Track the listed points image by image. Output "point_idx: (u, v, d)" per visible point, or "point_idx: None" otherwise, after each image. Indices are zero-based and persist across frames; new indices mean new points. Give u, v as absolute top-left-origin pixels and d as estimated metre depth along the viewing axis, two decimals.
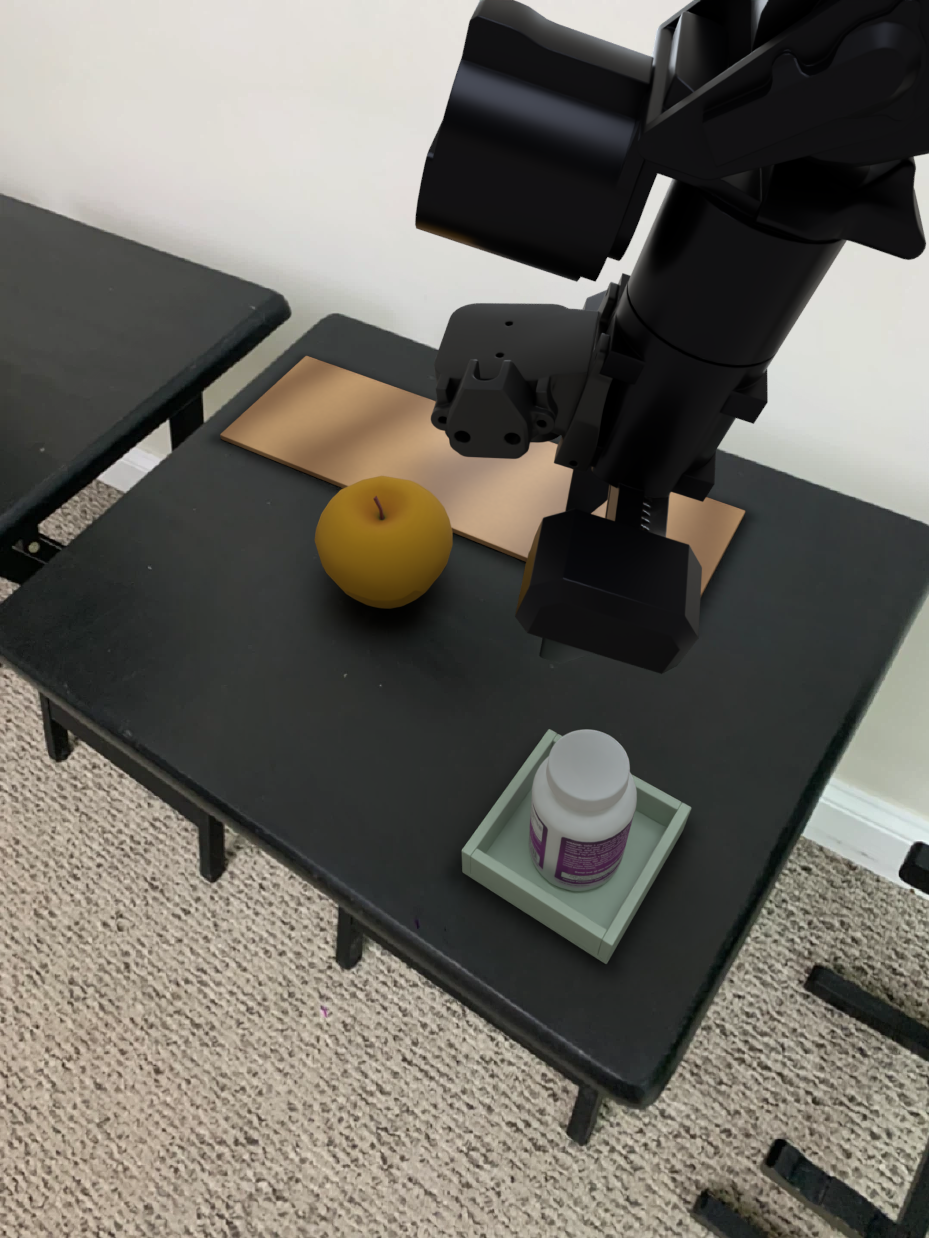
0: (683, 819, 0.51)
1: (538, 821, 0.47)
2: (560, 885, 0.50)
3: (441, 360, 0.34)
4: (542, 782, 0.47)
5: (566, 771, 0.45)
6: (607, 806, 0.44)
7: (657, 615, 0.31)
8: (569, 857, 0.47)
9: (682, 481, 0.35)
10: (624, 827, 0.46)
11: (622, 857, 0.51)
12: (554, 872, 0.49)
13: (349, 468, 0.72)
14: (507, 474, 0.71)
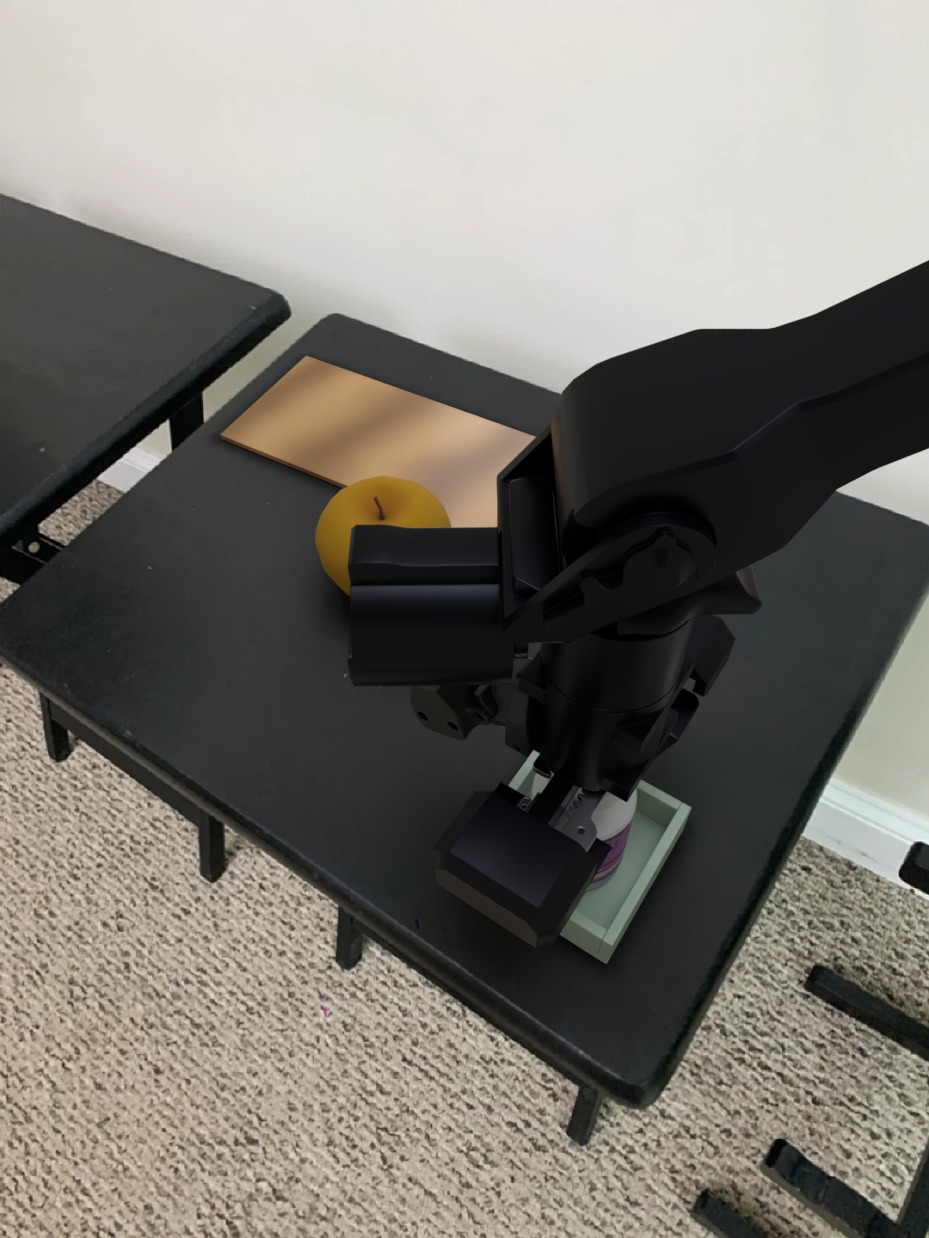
0: (683, 819, 0.51)
1: None
2: None
3: None
4: (542, 783, 0.46)
5: None
6: (607, 806, 0.44)
7: (516, 901, 0.37)
8: None
9: (605, 782, 0.40)
10: (624, 827, 0.46)
11: (622, 857, 0.51)
12: None
13: (349, 468, 0.72)
14: None
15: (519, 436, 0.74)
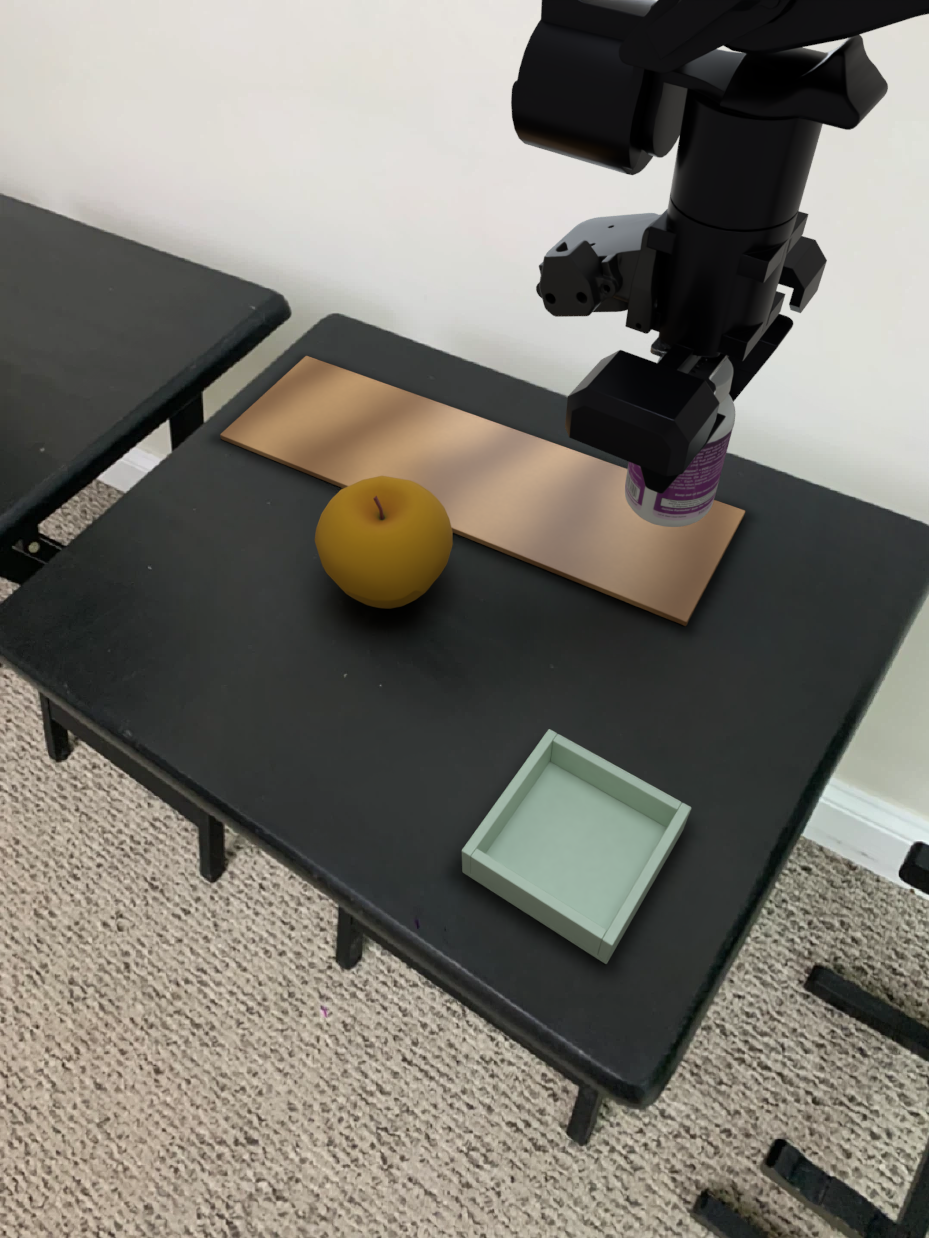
0: (683, 819, 0.51)
1: None
2: (658, 520, 0.54)
3: None
4: None
5: None
6: None
7: (653, 419, 0.41)
8: None
9: (723, 341, 0.44)
10: (725, 434, 0.50)
11: (714, 496, 0.54)
12: (654, 503, 0.53)
13: (349, 468, 0.72)
14: (507, 474, 0.71)
15: (519, 436, 0.74)
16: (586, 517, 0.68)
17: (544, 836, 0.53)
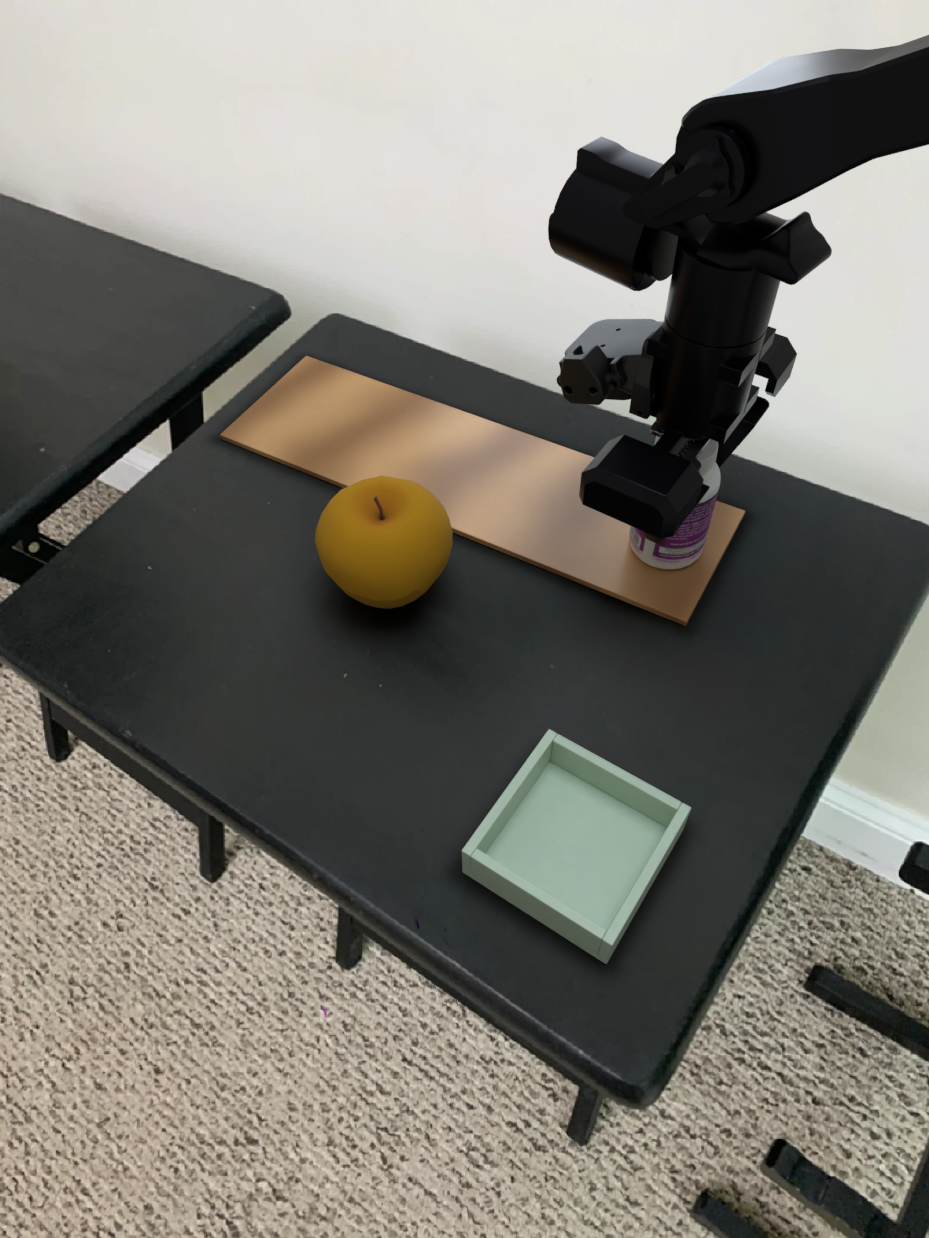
0: (683, 819, 0.51)
1: None
2: (656, 564, 0.64)
3: (570, 348, 0.58)
4: None
5: None
6: (701, 471, 0.59)
7: (649, 494, 0.51)
8: None
9: (707, 428, 0.54)
10: (712, 496, 0.60)
11: None
12: (653, 549, 0.64)
13: (349, 468, 0.72)
14: (507, 474, 0.71)
15: (519, 436, 0.74)
16: (586, 517, 0.68)
17: (544, 836, 0.53)
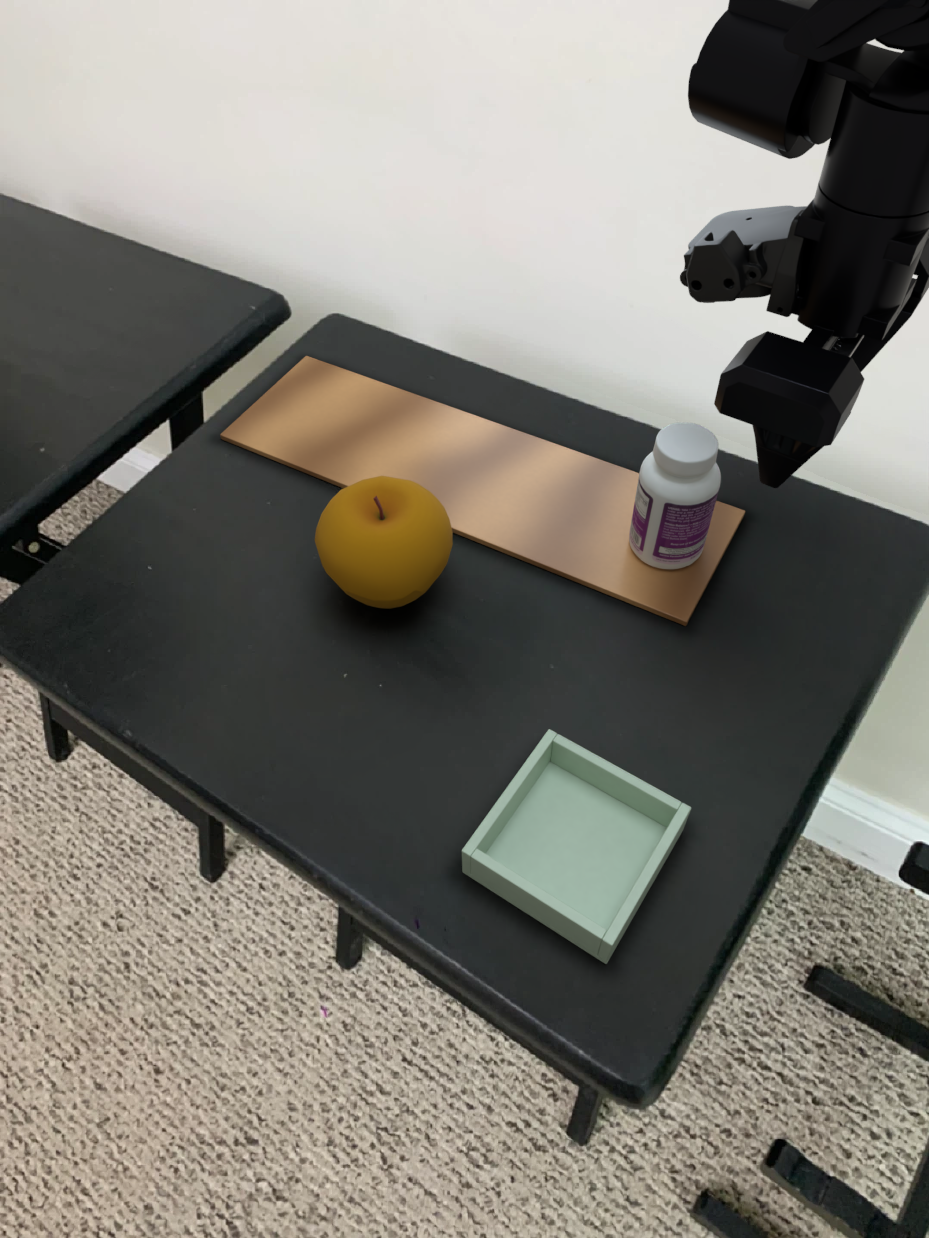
0: (683, 819, 0.51)
1: (645, 497, 0.61)
2: (656, 564, 0.64)
3: (694, 241, 0.50)
4: (649, 465, 0.61)
5: (671, 446, 0.59)
6: (702, 471, 0.59)
7: (807, 392, 0.44)
8: (668, 526, 0.61)
9: (863, 322, 0.47)
10: (712, 496, 0.60)
11: None
12: (653, 549, 0.64)
13: (349, 468, 0.72)
14: (507, 474, 0.71)
15: (519, 436, 0.74)
16: (586, 517, 0.68)
17: (544, 836, 0.53)
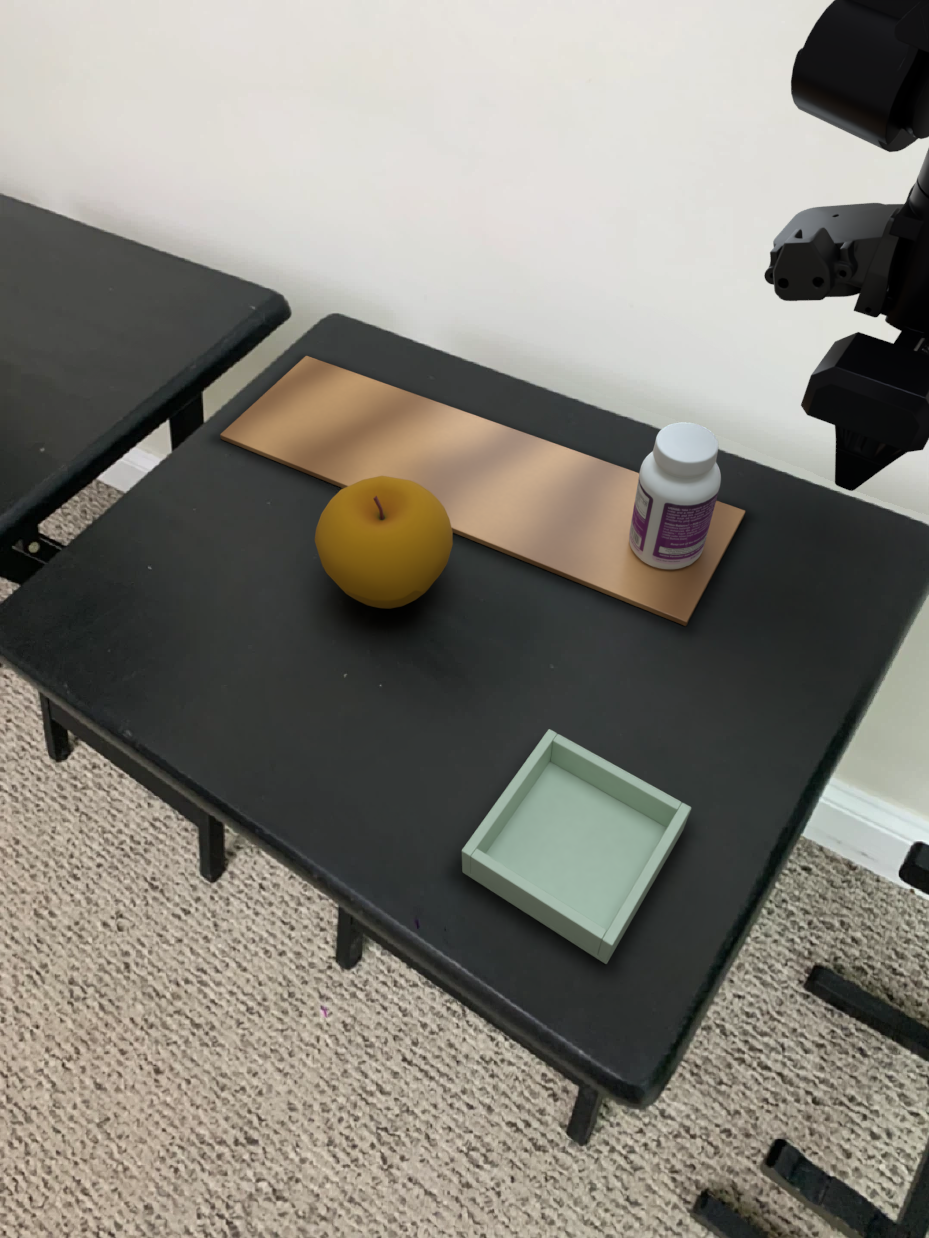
0: (683, 819, 0.51)
1: (645, 497, 0.61)
2: (656, 564, 0.64)
3: (779, 238, 0.49)
4: (649, 465, 0.61)
5: (671, 446, 0.59)
6: (702, 471, 0.59)
7: (903, 396, 0.43)
8: (668, 526, 0.61)
9: None
10: (712, 496, 0.60)
11: None
12: (653, 549, 0.64)
13: (349, 468, 0.72)
14: (507, 474, 0.71)
15: (519, 436, 0.74)
16: (586, 517, 0.68)
17: (544, 836, 0.53)
